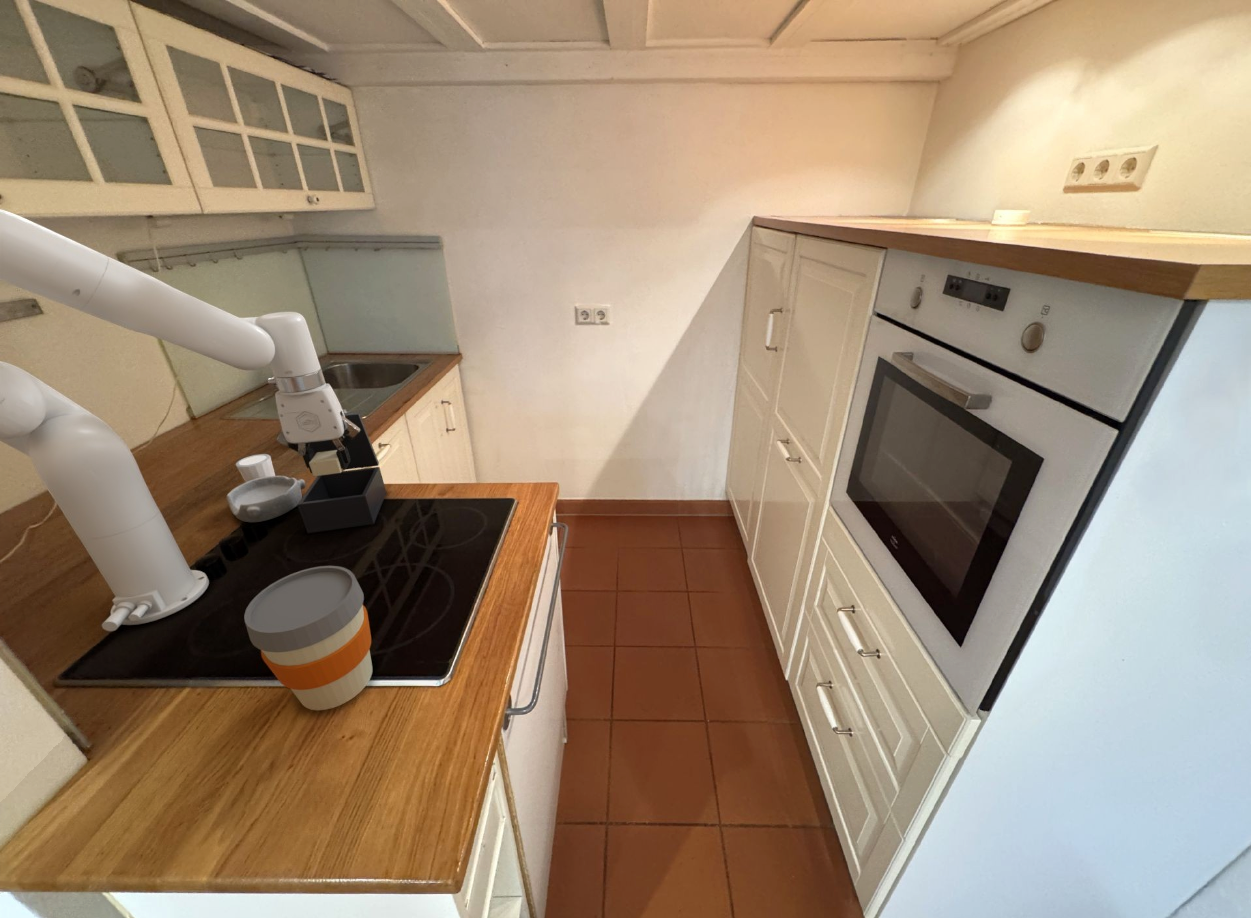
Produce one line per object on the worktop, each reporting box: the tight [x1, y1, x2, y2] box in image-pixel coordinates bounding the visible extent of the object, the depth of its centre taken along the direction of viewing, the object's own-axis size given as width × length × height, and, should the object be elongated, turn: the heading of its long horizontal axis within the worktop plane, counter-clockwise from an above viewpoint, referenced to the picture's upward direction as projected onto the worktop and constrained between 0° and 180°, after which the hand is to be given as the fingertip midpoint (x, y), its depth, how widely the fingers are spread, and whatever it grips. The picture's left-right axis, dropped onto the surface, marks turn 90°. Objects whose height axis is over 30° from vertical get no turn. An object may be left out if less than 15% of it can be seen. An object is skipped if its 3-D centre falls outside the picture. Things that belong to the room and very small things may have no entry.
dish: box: [226, 475, 307, 523], centre depth 110 cm, size 14×14×5 cm
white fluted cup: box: [235, 453, 276, 483], centre depth 119 cm, size 7×7×7 cm
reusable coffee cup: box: [243, 565, 373, 711], centre depth 65 cm, size 13×13×15 cm
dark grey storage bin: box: [296, 466, 388, 534], centre depth 107 cm, size 14×13×7 cm
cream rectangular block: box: [309, 450, 344, 477], centre depth 100 cm, size 5×5×3 cm
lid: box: [310, 409, 380, 471], centre depth 108 cm, size 14×13×5 cm
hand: (330, 467), depth 101 cm, fingers closed on cream rectangular block, 5 cm apart
